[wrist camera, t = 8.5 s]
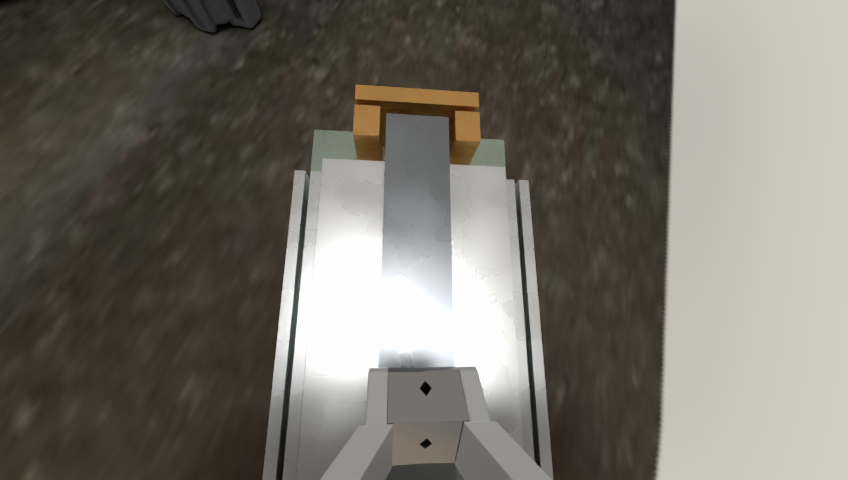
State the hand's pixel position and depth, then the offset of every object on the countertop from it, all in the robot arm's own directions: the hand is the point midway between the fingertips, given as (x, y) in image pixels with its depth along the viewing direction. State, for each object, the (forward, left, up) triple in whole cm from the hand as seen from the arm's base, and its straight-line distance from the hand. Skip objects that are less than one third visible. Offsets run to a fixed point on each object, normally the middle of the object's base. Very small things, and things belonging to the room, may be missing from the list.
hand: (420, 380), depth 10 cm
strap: (-2, +2, -5) cm, 6 cm away
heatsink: (-2, +2, -10) cm, 11 cm away
